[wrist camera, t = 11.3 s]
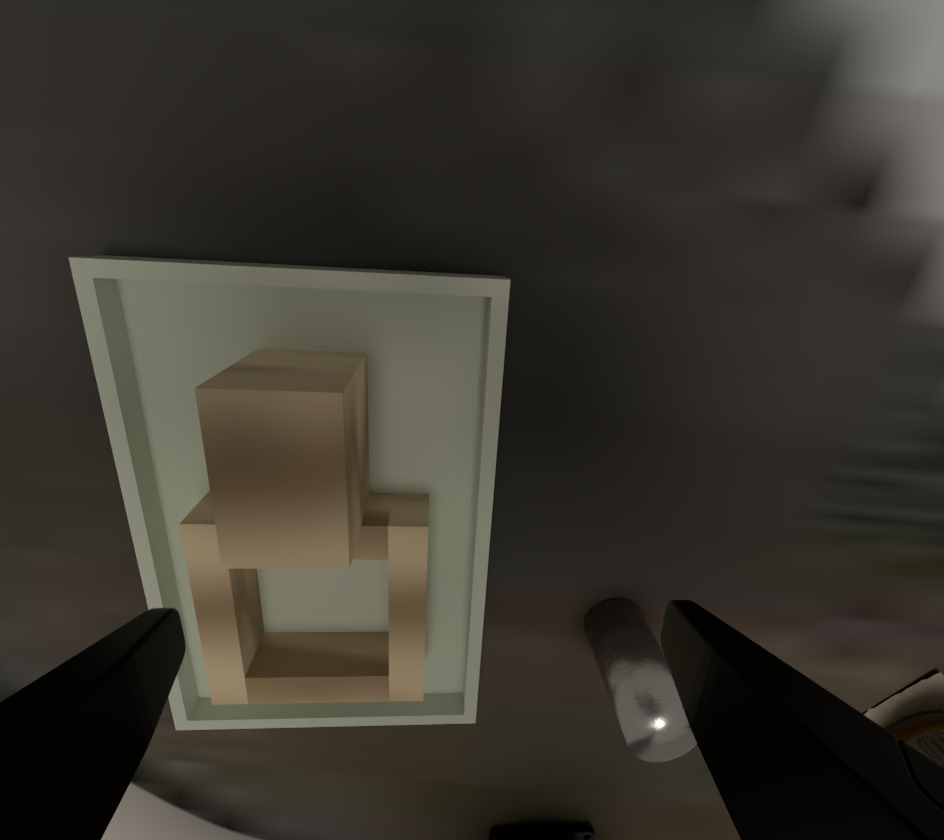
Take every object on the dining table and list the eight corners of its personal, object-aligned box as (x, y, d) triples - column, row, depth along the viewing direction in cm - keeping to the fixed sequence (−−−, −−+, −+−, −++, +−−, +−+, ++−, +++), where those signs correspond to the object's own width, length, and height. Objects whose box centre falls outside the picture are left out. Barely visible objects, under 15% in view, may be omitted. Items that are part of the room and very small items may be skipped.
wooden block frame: (424, 655, 24) (421, 757, 19) (235, 657, 23) (183, 764, 18) (433, 355, 18) (431, 395, 14) (187, 345, 18) (98, 385, 13)
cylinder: (636, 644, 25) (693, 761, 20) (580, 645, 25) (621, 763, 19) (647, 598, 24) (709, 707, 19) (588, 598, 24) (634, 709, 18)
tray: (472, 691, 26) (475, 723, 24) (193, 696, 24) (176, 730, 23) (503, 276, 18) (510, 279, 17) (104, 255, 17) (68, 257, 15)
